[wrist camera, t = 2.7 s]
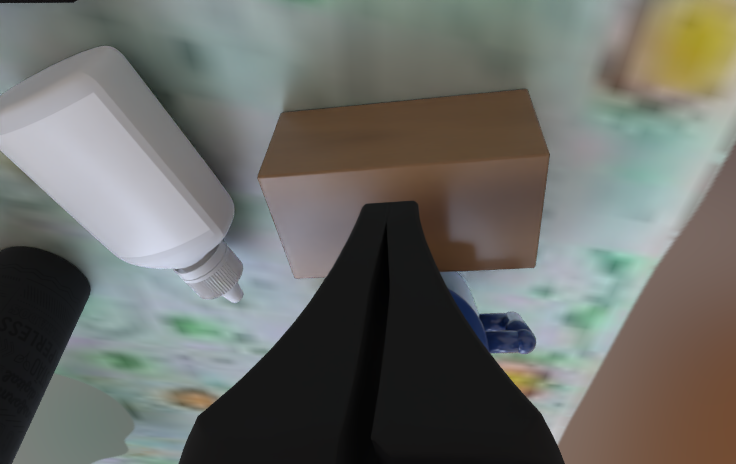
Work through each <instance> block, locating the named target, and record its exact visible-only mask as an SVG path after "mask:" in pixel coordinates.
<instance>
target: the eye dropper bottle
mask: <svg viewBox="0 0 736 464" xmlns="http://www.w3.org/2000/svg"><path fill="white" fill-rule="evenodd" d="M0 151H1V152H3V153H4V154H5V155H6V156H7V157H8V158H9V159H10V160H11V161H12V162H13V163H14V164H16V165H17V166H18V167H19V168H20V169H21V170H22V171H23V172H24V173H25V174H26V175H27V176H28V177H30V178H31V179H32V180H33V181H34V182H35V183H36V184H37V185H38V186H39V187H40V188H41V189H43V190H44V191H45V192H46V193H47V194H48V195H49V196H50V197H51V198H52V199H53V200H54V201H56V202H57V203H58V204H59V205H60V206H61V207H62V208H63V209H64V210H65V211H66V212H68V213H69V214H70V215H71V216H72V217H73V218H74V219H75V220H76V221H77V222H78V223H80V224H81V225H82V226H83V227H84V228H85V229H86V230H87V231H88V232H89V233H90V234H92V235H93V236H94V237H95V238H96V239H97V240H98V241H99V242H100V243H102V244H103V245H104V246H105V247H106V248H107V249H108V250H110V251H111V252H112V253H113V254H114V255H115V256H117V257H118V258H120V259H121V260H123V261H125V262H127V263H130V264H133V265H136V266H140V267H146V268H153V269H173V270H174V271H175V272H176V273H177V274H178V275H179V276H180V277H181V278H182V279H183V280H184V281H185V282H186V283H187V284H188V285H189V286H190V287H191V288H192V289H193V290H194V291H195V292H196V293H197V294H198V295H199V296H200V297H201V298H203V299H215V298H218V297H220V296H223V297H225V298H226V299H228V300H229V301H231V302H232V303H237V302H239V301H240V300H241V299H242V298H243V295H244V293H243V291H242V289H241V287H240V286H239V284H238V281H239V279H240V277H241V275H242V271H243V264H242V262H241V261H240V260H239V259H238V257H237V256H236V255H235V254H234V253H233V251H232V250H231V249H230V248H229V247H228V246H227V244H226V243H225V242H224V241H223V238H224V237H225V236H226V234H227V232H228V231H229V228H230V226H231V223H232V221H233V218H234V213H235V211H234V203H233V200H232V199H231V197H230V195H229V194H228V192H227V191H226V190H225V188H224V187H223V185H222V184H221V183H220V181H219V180H218V178H217V177H216V176H215V174H214V173H213V172H212V170H211V169H210V168H209V166H208V165H207V164H206V163H205V161H204V160H203V159H202V157H201V156H200V155H199V153H198V152H197V151H196V149H195V148H194V147H193V145H192V144H191V143H190V141H189V140H188V139H187V137H186V136H185V135H184V133H183V132H182V131H181V130H180V128H179V127H178V126H177V124H176V123H175V122H174V120H173V119H172V118H171V116H170V115H169V114H168V113H167V111H166V110H165V109H164V107H163V106H162V105H161V103H160V102H159V101H158V99H157V98H156V97H155V95H154V94H153V93H152V92H151V90H150V89H149V88H148V86H147V85H146V84H145V82H144V81H143V80H142V79H141V77H140V76H139V75H138V73H137V72H136V71H135V69H134V68H133V67H132V65H131V64H130V63H129V62H128V60H127V59H126V58H125V57H124V55H123V54H122V53H121V52H120V51H118V50H117V49H115V48H113V47H110V46H100V47H96V48H92V49H89V50H86V51H84V52H81V53H78V54H76V55H74V56H71V57H69V58H67V59H65V60H62V61H60V62H58V63H56V64H54V65H52V66H50V67H48V68H46V69H44V70H42V71H40V72H38V73H37V74H35V75H33V76H31V77H29V78H27V79H25V80H24V81H22V82H20V83H18V84H17V85H15V86H13V87H12V88H10V89H9V90H7V91H6V92H5V93H3V94H2V95H1V96H0Z"/></svg>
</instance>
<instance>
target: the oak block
mask: <svg viewBox="0 0 736 464" xmlns="http://www.w3.org/2000/svg"><path fill="white" fill-rule="evenodd" d="M549 158H550V154H549V151H548V148H547V145H546V142H545V139H544V136H543V133H542V130H541V127H540V124H539V121H538V119H537V116H536V113H535V110H534V107H533V104H532V101H531V98H530V95H529V92H528V90H527V89H521V90H510V91H500V92H490V93H479V94H469V95H459V96H448V97H438V98H428V99H418V100H407V101H397V102H387V103H376V104H366V105H356V106H345V107H335V108H325V109H314V110H304V111H294V112H283V113H281V114H280V117H279V120H278V122H277V125H276V128H275V130H274V133H273V136H272V138H271V141H270V144H269V147H268V149H267V152H266V155H265V157H264V160H263V163H262V165H261V168H260V171H259V173H258V177H257V178H258V181H259V183H260V186H261V189H262V191H263V194H264V197H265V199H266V202H267V205H268V207H269V210H270V213H271V216H272V218H273V221H274V224H275V226H276V229H277V232H278V234H279V237H280V240H281V242H282V245H283V248H284V250H285V253H286V256H287V259H288V261H289V264H290V267H291V269H292V272H293V275H294V277H295V278H296V279H300V278H322V277H327V275H328V273H329V272H330V270H331V269H332V267H333V265H334V264H335V262H336V260H337V258H338V256H339V255H340V253H341V251H342V249H343V247H344V246H345V244H346V242H347V240H348V238H349V236H350V234H351V232H352V230H353V228H354V225H355V223H356V221H357V219H358V216H359V214H360V211H361V209H362V207H363V206H364V205H365V204H368V203H383V202H398V201H413V200H414V201H415V202H416V203H418V206H419V216H420V221H421V225H422V229H423V232H424V235H425V238H426V241H427V244H428V246H429V249H430V251H431V254H432V256H433V258H434V261H435V263H436V265H437V268H438V270H439V272H454V271H476V270H498V269H520V268H534V267H535V266H536V258H537V250H538V243H539V235H540V227H541V219H542V212H543V204H544V196H545V188H546V181H547V173H548V165H549Z"/></svg>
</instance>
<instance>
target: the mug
mask: <svg viewBox="0 0 736 464" xmlns="http://www.w3.org/2000/svg"><path fill="white" fill-rule="evenodd" d="M440 274H441V276H442V278H443V280H444V282H445V284H446V286H447V288H448V290H449V291H450V293H451V295H452V297H453V299H454V300H455V302H456V304H457V305H458V307H459V309H460V310H461V312H462V314H463V315H464V317H465V318H466V320H467V321H468V323H469V324H470V326H471V328H472V329H473V331H474V332H475V334H476V335H477V336H478V338H479V339H480V340H481V342H482V343H483V344H484V346H485V347H486V348H487V350H488V351H489V353H520V354H528V353H530V352H532V351H533V350H534V348H535V346H536V338H535V336H534V334H533V333H532V331H531V330H530V329H529V327H528V326H527V324H526V323H525V321H524V320H523V319H522V317H521V316H520V315H519V314H518V313H516V312H507V313H490V314H479V312H478V309H477V306H476V303H475V301H474V298H473V295H472V293H471V290H470V288H469V287H468V285H467V283H466V282H465V281H464V279H463V278H462V277H461V276H460V275H459V274H458V273H457V272H456V271H454V272H440Z"/></svg>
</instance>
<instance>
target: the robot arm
mask: <svg viewBox="0 0 736 464" xmlns="http://www.w3.org/2000/svg"><path fill="white" fill-rule="evenodd" d="M179 464H565V463H564V461H563V458H562V455H561V453H560V450H559V448H558V446H557V444H556V441H555V439H554V437H553V435H552V433H551V431H550V429H549V428H548V426H547V424H546V422H545V420H544V418H543V416H542V414H541V413H540V412H539V410H538V409H537V408H536V407H535V406H534V405H533V404H532V403H531V402H530V401H529V400H528V399H527V397H526V396H525V395H524V394H523V393H522V392H521V391H520V390H519V388H518V387H517V386H516V385H515V384H514V383H513V382H512V380H511V379H510V378H509V377H508V375H507V374H506V373H505V372H504V371H503V369H502V368H501V367H500V366H499V365H498V363H497V362H496V361H495V359H494V358H493V357H492V355H491V354H490V353H489V351H488V350H487V348H486V347H485V346H484V344H483V343H482V342H481V340H480V339H479V338H478V336H477V335H476V334H475V332H474V331H473V329H472V328H471V326H470V324H469V323H468V321H467V320H466V318H465V317H464V315H463V314H462V312H461V310H460V309H459V307H458V305H457V304H456V302H455V300H454V299H453V297H452V295H451V293H450V291H449V290H448V288H447V286H446V284H445V282H444V280H443V278H442V276H441V274H440V272H439V270H438V268H437V265H436V263H435V261H434V258H433V256H432V254H431V251H430V249H429V246H428V244H427V241H426V238H425V235H424V232H423V229H422V225H421V221H420V216H419V206H418V203H416V202H415V201H414V200H413V201H398V202H383V203H368V204H365V205H364V206H363V207H362V209H361V211H360V214H359V216H358V219H357V221H356V223H355V225H354V228H353V230H352V232H351V234H350V236H349V238H348V240H347V242H346V244H345V246H344V247H343V249H342V251H341V253H340V255H339V256H338V258H337V260H336V262H335V264H334V265H333V267H332V269H331V270H330V272H329V273H328V275H327V277H326V278H325V280H324V281H323V283H322V284H321V286H320V288H319V289H318V291H317V292H316V294H315V295H314V296H313V298H312V299H311V301H310V302H309V304H308V305H307V306H306V308H305V309H304V310H303V312H302V313H301V314H300V315H299V317H298V318H297V319H296V321H295V322H294V323H293V324H292V325H291V327H290V328H289V329H288V330H287V331H286V332H285V334H284V335H283V336H282V337H281V338H280V340H279V341H278V342H277V343H276V344H275V345H274V346H273V347H272V348H271V350H270V351H269V352H268V353H267V354H266V355H265V356H264V357H263V358H262V359H261V360H260V361H259V362H258V363H257V364H256V365H255V366H254V367H253V368H252V369H251V370H250V371H249V372H248V373H247V374H246V375H245V376H244V377H243V378H242V379H241V380H239V381H238V382H237V383H236V384H235V385H234V386H233V387H232V388H231V389H229V390H228V391H227V392H226V393H225V394H224V395H222V396H221V397H220V398H219V399H218V400H217V401H215V402H214V403H213V404H212V405H211V406H210V407H208V408H207V409H206V410H205V411H204V412H202V413H201V414H200V415H199V416H198V417H197V419H196V422H195V424H194V426H193V428H192V430H191V432H190V434H189V437H188V439H187V441H186V444H185V446H184V449H183V452H182V455H181V458H180V461H179Z"/></svg>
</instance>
